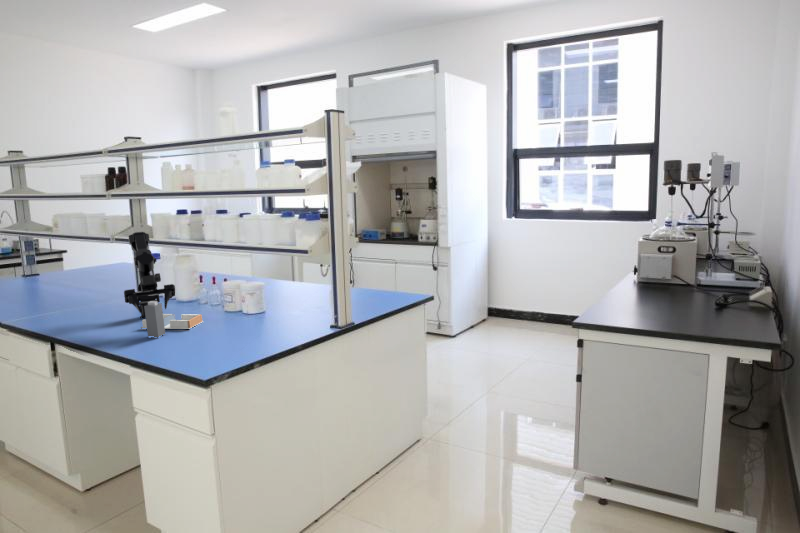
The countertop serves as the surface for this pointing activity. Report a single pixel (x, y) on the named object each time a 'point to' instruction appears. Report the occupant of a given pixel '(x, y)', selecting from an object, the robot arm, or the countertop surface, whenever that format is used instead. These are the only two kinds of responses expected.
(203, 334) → the countertop surface
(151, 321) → the grey pedestal with block
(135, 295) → the robot arm
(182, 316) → the white tray with rails
